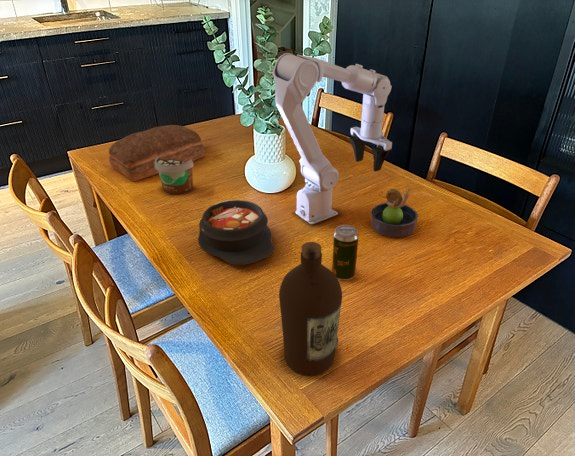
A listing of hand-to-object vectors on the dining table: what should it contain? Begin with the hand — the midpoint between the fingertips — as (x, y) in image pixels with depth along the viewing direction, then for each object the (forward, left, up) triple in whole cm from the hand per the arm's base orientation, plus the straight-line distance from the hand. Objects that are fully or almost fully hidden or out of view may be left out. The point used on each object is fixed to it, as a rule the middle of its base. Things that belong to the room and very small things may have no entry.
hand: (367, 165), depth 131 cm
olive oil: (-50, -39, -10) cm, 64 cm away
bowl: (-5, -16, -10) cm, 20 cm away
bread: (-41, +60, -10) cm, 73 cm away
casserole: (-43, +2, -10) cm, 44 cm away
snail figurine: (-5, -16, -10) cm, 20 cm away
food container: (-45, +37, -10) cm, 59 cm away
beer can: (-29, -24, -11) cm, 39 cm away
